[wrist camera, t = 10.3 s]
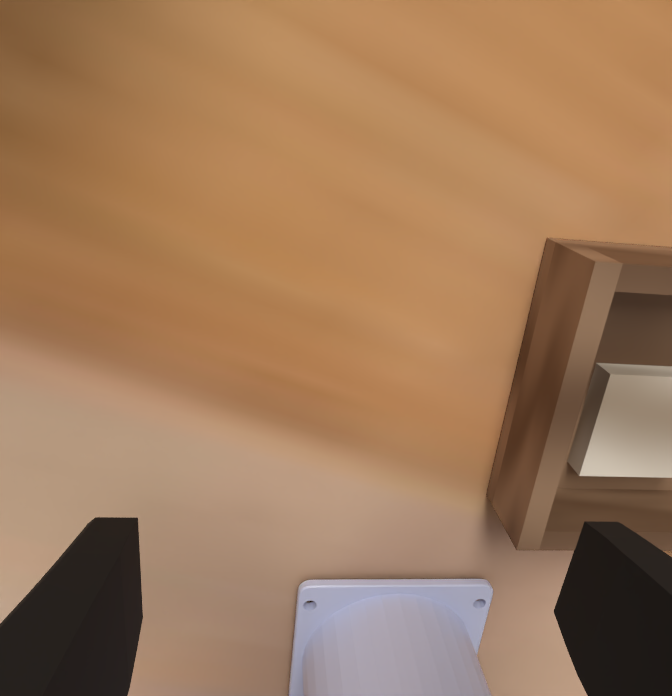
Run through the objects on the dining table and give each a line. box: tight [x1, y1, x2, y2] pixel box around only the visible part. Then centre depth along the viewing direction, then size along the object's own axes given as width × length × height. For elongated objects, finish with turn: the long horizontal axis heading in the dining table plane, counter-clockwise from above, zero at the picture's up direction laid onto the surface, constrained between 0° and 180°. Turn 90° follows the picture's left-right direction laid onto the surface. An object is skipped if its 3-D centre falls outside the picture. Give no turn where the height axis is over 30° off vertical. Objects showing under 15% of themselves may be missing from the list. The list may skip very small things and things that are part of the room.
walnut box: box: [487, 238, 672, 551], centre depth 19 cm, size 10×10×3 cm
